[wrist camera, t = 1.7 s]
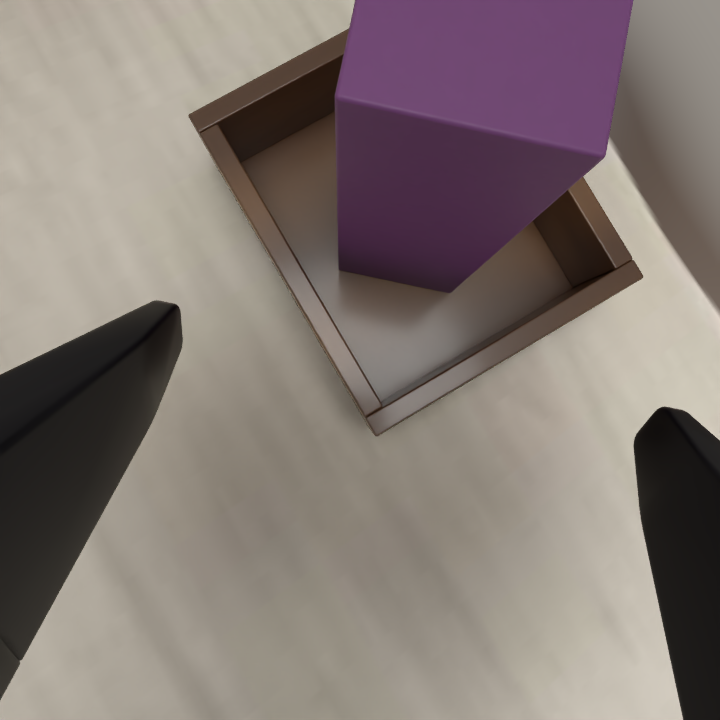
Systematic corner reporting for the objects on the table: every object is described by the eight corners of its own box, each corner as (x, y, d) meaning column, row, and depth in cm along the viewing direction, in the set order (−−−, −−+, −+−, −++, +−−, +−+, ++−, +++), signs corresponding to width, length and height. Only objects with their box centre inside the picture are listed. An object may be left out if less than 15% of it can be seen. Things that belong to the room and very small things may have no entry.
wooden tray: (591, 296, 23) (644, 276, 19) (369, 428, 22) (375, 437, 18) (437, 41, 23) (457, -31, 19) (214, 163, 23) (187, 114, 19)
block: (450, 293, 22) (607, 157, 9) (338, 270, 22) (333, 97, 9) (472, 184, 22) (653, -99, 9) (361, 160, 22) (389, -161, 9)
